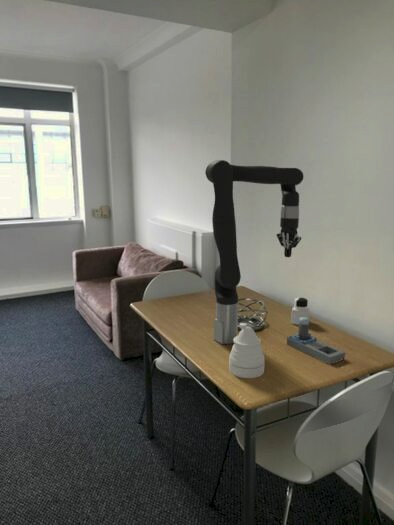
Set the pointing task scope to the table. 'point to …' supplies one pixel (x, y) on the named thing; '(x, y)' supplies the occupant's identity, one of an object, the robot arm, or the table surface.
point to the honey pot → (246, 354)
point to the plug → (303, 328)
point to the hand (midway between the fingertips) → (287, 256)
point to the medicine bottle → (299, 310)
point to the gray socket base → (316, 348)
